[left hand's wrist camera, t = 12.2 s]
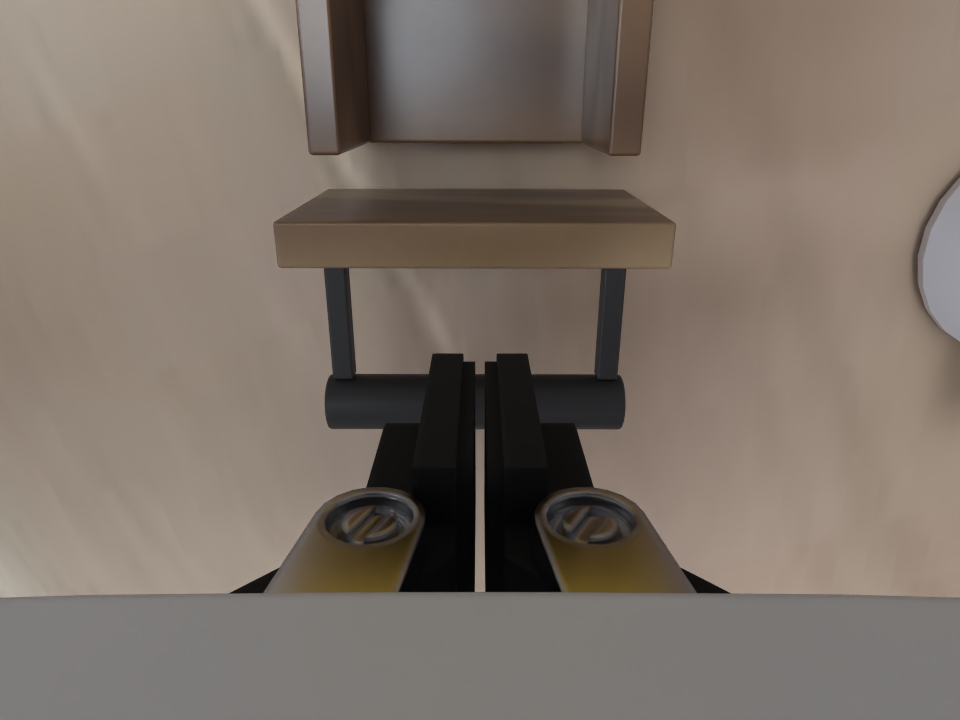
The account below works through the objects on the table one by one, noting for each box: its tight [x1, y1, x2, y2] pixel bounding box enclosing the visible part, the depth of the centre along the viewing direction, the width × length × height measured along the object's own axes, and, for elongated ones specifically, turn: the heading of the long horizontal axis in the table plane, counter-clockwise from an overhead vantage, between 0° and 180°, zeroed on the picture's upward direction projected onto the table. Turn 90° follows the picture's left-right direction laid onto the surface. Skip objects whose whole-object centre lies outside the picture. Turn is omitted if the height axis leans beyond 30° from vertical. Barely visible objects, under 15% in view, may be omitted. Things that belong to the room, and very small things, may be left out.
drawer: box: [274, 0, 676, 429], centre depth 18 cm, size 22×10×6 cm, turn 0°
